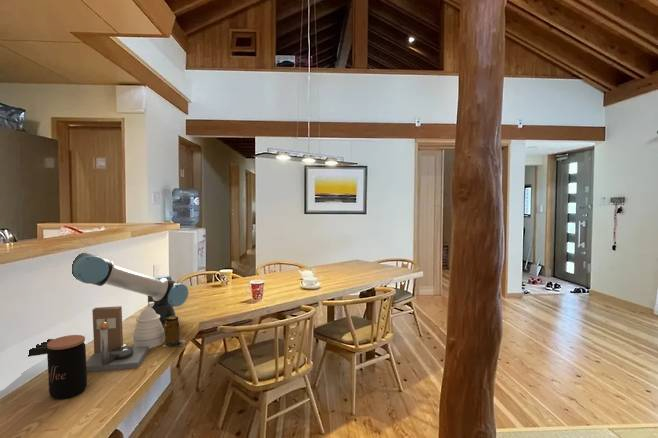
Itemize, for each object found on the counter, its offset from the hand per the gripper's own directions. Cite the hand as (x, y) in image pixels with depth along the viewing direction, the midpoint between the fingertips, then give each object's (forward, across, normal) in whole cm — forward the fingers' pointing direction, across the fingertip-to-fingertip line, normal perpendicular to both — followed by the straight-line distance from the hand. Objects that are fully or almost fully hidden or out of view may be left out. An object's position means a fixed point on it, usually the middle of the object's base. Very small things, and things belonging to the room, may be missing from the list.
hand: (80, 344), depth 145 cm
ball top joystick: (+12, -5, -8) cm, 15 cm away
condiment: (+30, -21, -11) cm, 38 cm away
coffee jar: (+2, +16, -11) cm, 19 cm away
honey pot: (+18, -24, -11) cm, 32 cm away
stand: (+10, -7, -10) cm, 16 cm away
